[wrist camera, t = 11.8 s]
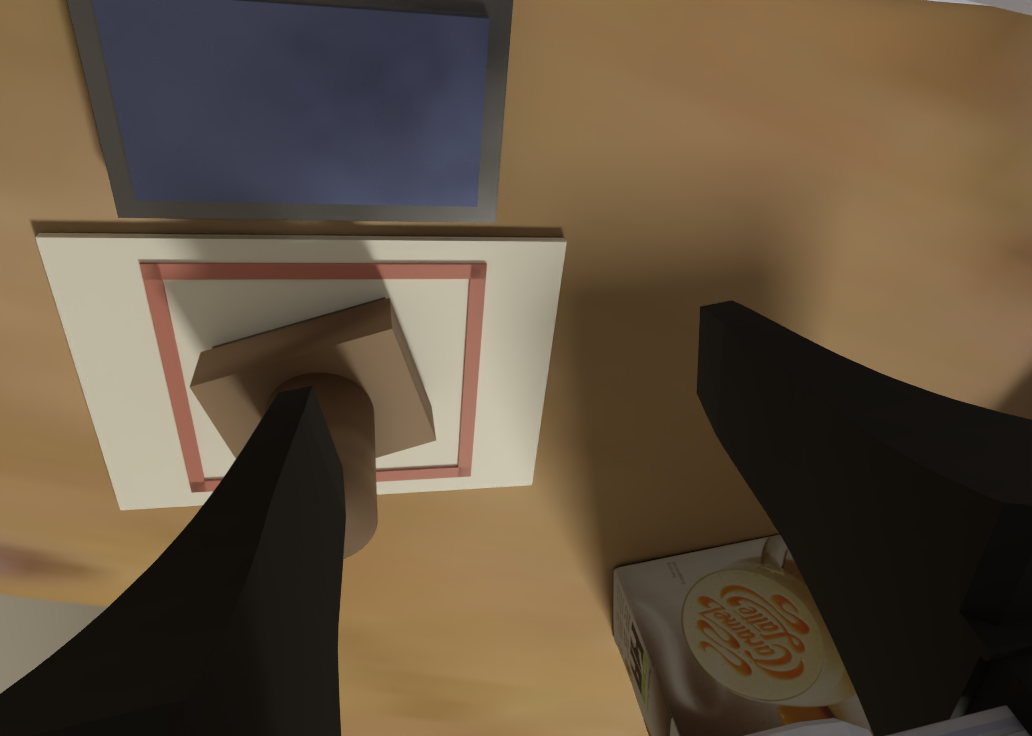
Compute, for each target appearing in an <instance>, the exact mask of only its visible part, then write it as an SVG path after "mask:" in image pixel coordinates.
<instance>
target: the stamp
mask: <svg viewBox="0 0 1032 736" xmlns="http://www.w3.org/2000/svg"><path fill="white" fill-rule="evenodd" d="M308 386H313V388H314V391H315V394H316V396H317V399H318V402H319V404H320V407H321V410H322V413H323V415H324V418H325V421H326V423H327V426H328V429H329V432H330V434H331V437H332V440H333V442H334V445H335V448H336V451H337V453H338V456H339V459H340V461H341V464H342V467H343V476H344V490H345V507H346V526H345V541H344V556H343V559H345V558H347V557H349V556H351V555H353V554H355V553H356V552H358V551H359V550H361V549H362V548H363V547H364V546H365V545H366V544H367V543H368V542H369V541H370V540H371V538H372V537H373V535H374V533H375V530H376V528H377V486H376V458H378V457H381V456H385V455H388V454H392V453H395V452H398V451H402V450H405V449H409V448H412V447H416V446H419V445H422V444H426V443H429V442H433V441H436V435H435V427H434V420H433V413H432V406H431V403H430V401H429V398H428V396H427V393H426V390H425V388H424V385H423V383H422V380H421V377H420V375H419V372H418V370H417V367H416V364H415V362H414V359H413V357H412V354H411V352H410V349H409V346H408V344H407V341H406V339H405V336H404V333H403V331H402V328H401V326H400V323H399V320H398V318H397V315H396V313H395V310H394V307H393V305H392V302H391V300H390V298H387V299H386V298H385V297H383V298H380V299H376V300H373V301H369V302H366V303H362V304H359V305H355V306H352V307H349V308H345V309H342V310H338V311H335V312H331V313H328V314H324V315H321V316H317V317H314V318H310V319H307V320H303V321H300V322H296V323H293V324H289V325H286V326H282V327H279V328H275V329H272V330H269V331H265V332H262V333H258V334H255V335H251V336H248V337H244V338H241V339H237V340H234V341H230V342H227V343H223V344H220V345H216V346H213V347H212V349H210V350H206V351H203V352H200V355H199V359H198V362H197V365H196V368H195V371H194V374H193V378H192V381H191V384H190V389H191V390H192V392H193V393H194V395H195V396H196V398H197V400H198V401H199V403H200V404H201V406H202V407H203V409H204V410H205V412H206V414H207V415H208V417H209V418H210V420H211V421H212V423H213V424H214V426H215V427H216V429H217V431H218V432H219V434H220V435H221V437H222V438H223V440H224V441H225V443H226V445H227V446H228V448H229V449H230V451H231V452H232V454H233V455H234V457H235V458H237V457H238V455H239V454H240V452H241V451H242V449H243V448H244V446H245V444H246V443H247V441H248V440H249V438H250V437H251V435H252V433H253V432H254V430H255V429H256V427H257V425H258V424H259V422H260V420H261V419H262V417H263V416H264V414H265V412H266V411H267V409H268V408H269V406H270V404H271V403H272V401H273V400H274V398H275V397H276V395H277V394H278V393H279V392H284V391H289V390H294V389H298V388H303V387H308Z"/></svg>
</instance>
